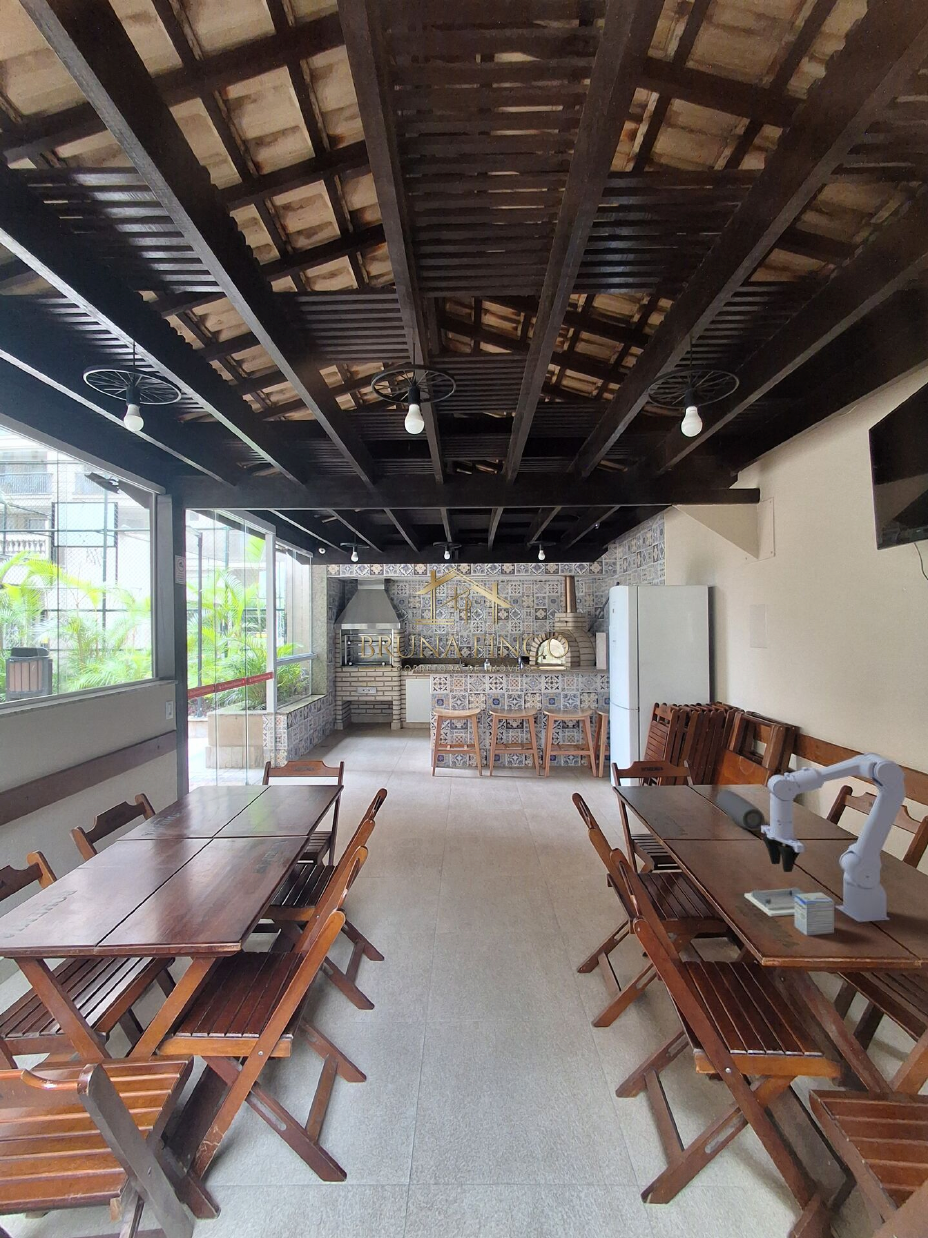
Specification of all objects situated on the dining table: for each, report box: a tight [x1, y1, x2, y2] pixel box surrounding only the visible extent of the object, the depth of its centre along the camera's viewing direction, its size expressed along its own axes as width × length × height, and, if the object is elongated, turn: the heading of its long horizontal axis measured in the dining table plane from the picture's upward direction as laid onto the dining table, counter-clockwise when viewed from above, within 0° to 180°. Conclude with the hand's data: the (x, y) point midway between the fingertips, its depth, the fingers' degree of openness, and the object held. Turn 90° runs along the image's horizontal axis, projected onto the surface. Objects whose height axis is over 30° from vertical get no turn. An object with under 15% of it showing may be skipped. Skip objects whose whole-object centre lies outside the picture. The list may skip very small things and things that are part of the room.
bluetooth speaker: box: [715, 789, 766, 831], centre depth 218 cm, size 23×9×10 cm, turn 179°
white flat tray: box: [744, 886, 807, 917], centre depth 156 cm, size 15×11×3 cm
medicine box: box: [794, 892, 835, 936], centre depth 143 cm, size 8×4×9 cm, turn 98°
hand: (781, 867), depth 156 cm, fingers open, 4 cm apart
